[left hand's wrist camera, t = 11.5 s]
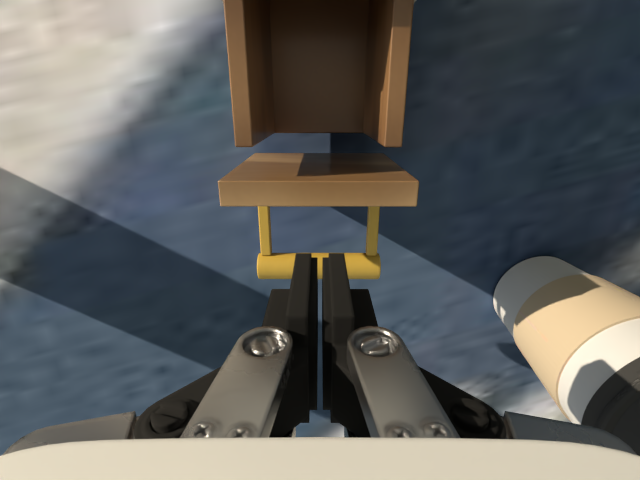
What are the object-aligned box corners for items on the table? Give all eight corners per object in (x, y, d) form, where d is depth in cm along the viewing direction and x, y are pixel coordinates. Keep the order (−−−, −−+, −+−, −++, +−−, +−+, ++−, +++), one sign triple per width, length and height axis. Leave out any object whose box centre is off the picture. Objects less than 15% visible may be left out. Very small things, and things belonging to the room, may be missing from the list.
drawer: (377, 242, 27) (406, 311, 18) (260, 242, 27) (230, 311, 18) (401, -129, 20) (472, -331, 11) (236, -129, 20) (164, -331, 11)
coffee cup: (608, 299, 30) (858, 467, 16) (513, 355, 32) (661, 547, 18) (559, 221, 28) (804, 340, 14) (459, 287, 30) (584, 450, 16)
